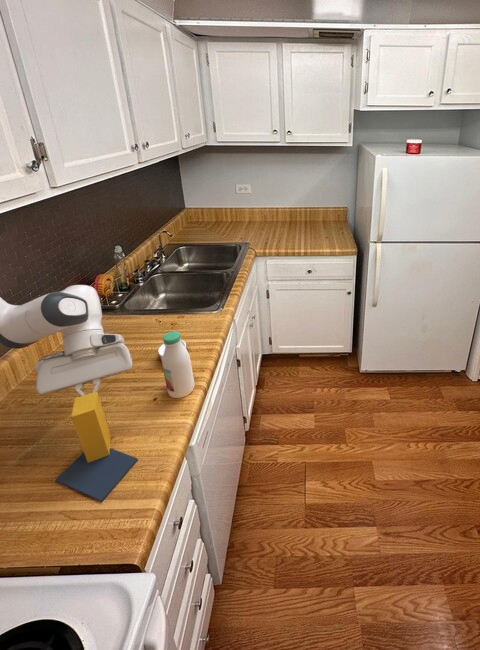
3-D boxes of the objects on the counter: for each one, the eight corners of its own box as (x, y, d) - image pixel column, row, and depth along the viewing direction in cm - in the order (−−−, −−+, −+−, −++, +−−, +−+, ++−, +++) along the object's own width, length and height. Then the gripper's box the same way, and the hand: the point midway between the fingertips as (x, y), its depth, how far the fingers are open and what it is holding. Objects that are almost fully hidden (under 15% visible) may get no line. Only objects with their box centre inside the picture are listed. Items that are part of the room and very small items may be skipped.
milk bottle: (195, 378, 106) (187, 325, 99) (193, 396, 99) (184, 341, 92) (170, 382, 104) (159, 329, 97) (166, 401, 97) (154, 345, 90)
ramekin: (191, 359, 114) (189, 349, 112) (164, 370, 109) (161, 359, 107) (183, 346, 121) (181, 336, 119) (157, 355, 116) (155, 345, 114)
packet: (90, 442, 84) (75, 397, 79) (111, 435, 86) (97, 391, 81) (87, 463, 79) (71, 416, 74) (109, 455, 81) (94, 409, 76)
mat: (55, 481, 76) (54, 479, 76) (94, 443, 85) (94, 441, 85) (101, 502, 72) (101, 500, 72) (138, 460, 81) (137, 458, 80)
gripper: (30, 356, 79) (32, 417, 75) (126, 333, 88) (133, 386, 84) (40, 359, 85) (42, 416, 80) (130, 337, 93) (137, 387, 89)
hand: (90, 401), depth 82 cm, fingers closed
